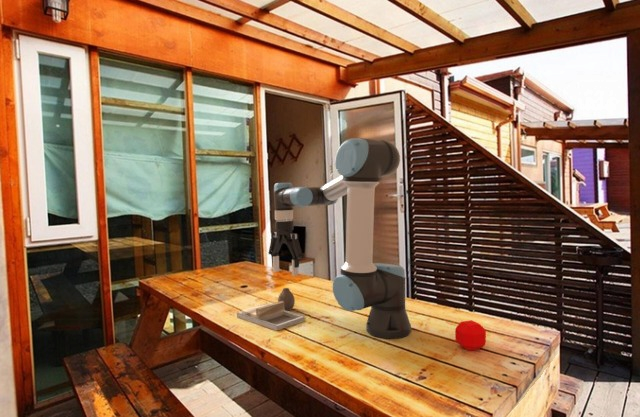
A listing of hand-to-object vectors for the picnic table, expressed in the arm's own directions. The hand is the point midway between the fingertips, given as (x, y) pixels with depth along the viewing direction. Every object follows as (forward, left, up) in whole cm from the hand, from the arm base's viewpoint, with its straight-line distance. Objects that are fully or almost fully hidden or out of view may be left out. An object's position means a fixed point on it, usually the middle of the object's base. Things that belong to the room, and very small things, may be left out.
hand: (285, 273), depth 163 cm
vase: (0, 0, -15) cm, 15 cm away
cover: (0, +12, -13) cm, 18 cm away
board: (-4, +12, -15) cm, 20 cm away
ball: (-73, -10, -15) cm, 75 cm away
